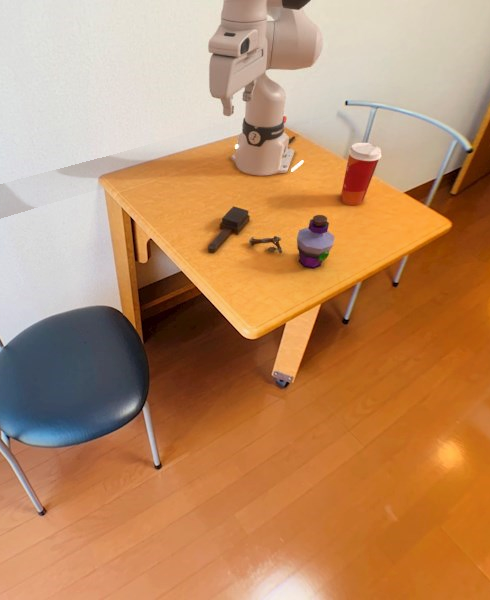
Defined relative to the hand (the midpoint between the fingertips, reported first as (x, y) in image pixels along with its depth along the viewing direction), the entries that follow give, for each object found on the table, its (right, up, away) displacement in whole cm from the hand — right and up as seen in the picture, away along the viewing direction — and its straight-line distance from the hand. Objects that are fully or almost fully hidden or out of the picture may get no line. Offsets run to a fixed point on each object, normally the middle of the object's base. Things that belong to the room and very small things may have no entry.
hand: (238, 107), depth 94 cm
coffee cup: (+35, -14, +27) cm, 46 cm away
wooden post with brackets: (+8, -30, +12) cm, 33 cm away
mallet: (-1, -25, +16) cm, 30 cm away
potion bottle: (+18, -33, +8) cm, 38 cm away
